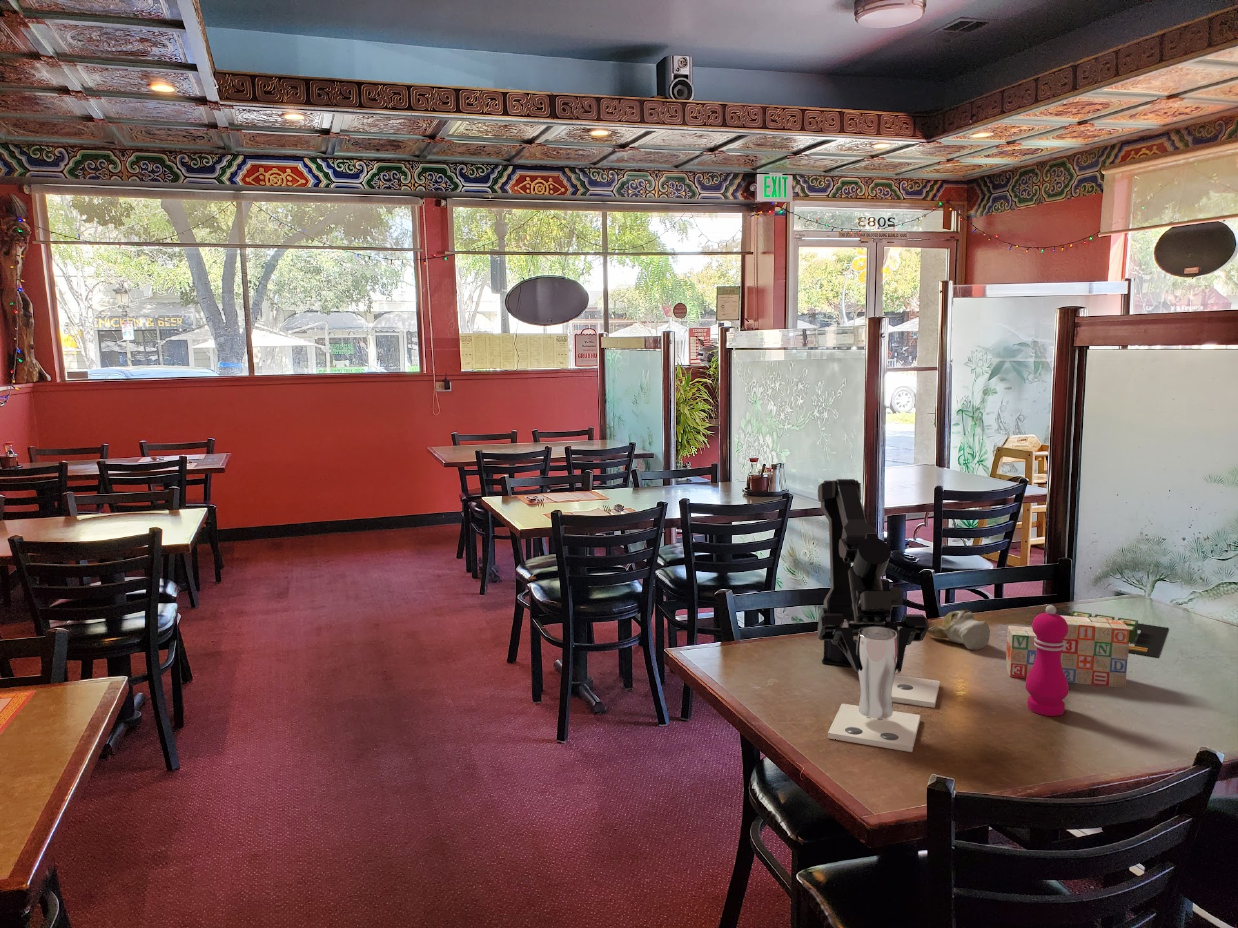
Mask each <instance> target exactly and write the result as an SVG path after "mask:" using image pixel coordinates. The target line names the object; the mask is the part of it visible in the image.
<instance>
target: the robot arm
mask: <svg viewBox="0 0 1238 928" xmlns="http://www.w3.org/2000/svg"><path fill="white" fill-rule="evenodd" d="M861 486H862V485H861V482H859V480H857V479H855V478H851V479H850V478H837V479H835V480H823V482H822V483H820V484H819V485H818V488H817V499H818V502H820V510H821V512H822V513H823V515H824V517H825V518H826V519H827V521H828V532H829V533H828V537H829V538H828V540H829V542H828V543H829V567H830V568H829V571H830V575H829V576H830V589H829V591H828V593H827V594H826V596H825V597H824V600H823V607H821V610H820V613H819V617H818V624H817V635H818V640H820V641H823V658H822V659H821V663H822V664H826V665H827V664H828V665H835V666H844V667H852V668H853V670H854V671H855V673H858V672H859V663H858V658H857V643H858V639H857V637H858V635H859V630H860V629H861V628H864V627H869V626H880V627H886V628H889V629H892V630H894V631H895V632H896V633H897V641H898V665H897V671H896V672H897V673H898V674H900V673H901V672H902V668H903V663H904V658H905V653H906V652H905V651H906V648H907V646H910V645H912V643H913V642H922V641H923V640H924V639H925V636H926V634H927V633H928V632H927V631H928V629H929V627H930V625H929V620H928V618H927V617H926V616H925V615H924V614H922V613H921V614H917V613H916V614H913V613H911V614H908V613H906V614H903V615H902V618H901V621H897V620H896V621H895V620H893V621H892V620H891V621H889V620H888V618H891V614H892V612H891V611H893V608H894V607H898V608H900V607H901V606H902V605H903V593H902V590H901V589H902V587H890V588H888V590H886V591H885V590H884V588H883V582H882V577H884V575H885V573H886V569H887V566H888V564H889V560H890V557H891V555H892V549H891V546H889V544H888V543H886V541H884V540H883V539H881V538H879V535H878V532H877V530H876V528H875V527H874V526H872V525H871V524H869V523H868V522H867V519H866V516H865V512H864V508H863V504H862V487H861Z"/></svg>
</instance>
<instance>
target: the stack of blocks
mask: <svg viewBox="0 0 1238 928" xmlns="http://www.w3.org/2000/svg"><path fill="white" fill-rule="evenodd" d="M1061 617H1063V618H1064V619H1065V620H1066V622H1067V624H1068V633H1067V635H1066V637H1064V638H1063V641H1064V649H1063V650H1061V665H1062V669H1063V672H1064V674H1065V676H1066V679H1067V682H1068V684H1069V683H1072V684H1082V685H1092V686H1101V687H1102V686H1103V687H1114V688H1124V689H1125V688H1126V683H1127V669H1128V659H1129V653H1128V651H1129V646H1130V643H1128V641H1129V628H1128V627H1127V626H1126V625H1125V624H1124V622H1123V621H1122V620H1118V619H1115V620H1111V619H1105V618H1096V617H1094V616H1093V617H1089V618H1088V617H1075V616H1073V617H1071V616H1061ZM1035 637H1037V636H1036V635H1035V633H1034V632H1033V629H1032V626H1029V627H1028V626H1018V625H1017V626H1016V625H1008V626H1007V639H1006V640H1007V641H1006V654H1005V655H1006V658H1005V659H1006V661H1005V667H1006V669H1007V670H1006V671H1007V674H1008V675H1009V677H1011V678H1019V679H1027V676H1028V673H1029V672H1030V670H1031V668H1032V666H1033V664H1034V662H1035V659H1036V653H1037V650H1036V646H1035V645H1034V643H1035V640H1034V638H1035Z"/></svg>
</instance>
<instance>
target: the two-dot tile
mask: <svg viewBox="0 0 1238 928" xmlns="http://www.w3.org/2000/svg"><path fill="white" fill-rule="evenodd" d="M858 706H859V705H854V704H848V703H841V705H840V706H839V709H838V710H837V713H836V715H835V717H834V719H833V721H832V723H831V726H830V728H829V730H828V732H827V739H831V740H835V739H836V741H841V742H848V743H854V744H861V745H866V746H872V747H878V748H885V749H892V750H896V751H903V752H909V753H913V750H914V746H915V743H916V738H917V734H918V731H919V727H920V723H921V714H916V713H915V714H914V713H910V712H901V711H896V710H895V711H894V710H893V711H894V714H893V716H892V717H891V718H890V719H887V720H871V719H868V718H865V717H863V716H862V715H860V714H859V712H858Z"/></svg>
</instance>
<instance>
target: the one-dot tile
mask: <svg viewBox="0 0 1238 928" xmlns="http://www.w3.org/2000/svg"><path fill="white" fill-rule="evenodd" d="M940 684H941V683H940V681H939V680H933V679H927V678H919V677H913V676H911V677H910V676H904V675H897V674H896V675H895V680H894V684H893V689H892V703H899V704H906V705H913V706H920V707H925V708H927V707H928V708H933V709H935V708H936V705H937V700H938V699H937V698H938V695H939V690H940Z"/></svg>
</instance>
